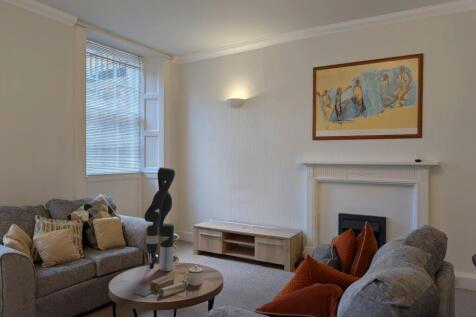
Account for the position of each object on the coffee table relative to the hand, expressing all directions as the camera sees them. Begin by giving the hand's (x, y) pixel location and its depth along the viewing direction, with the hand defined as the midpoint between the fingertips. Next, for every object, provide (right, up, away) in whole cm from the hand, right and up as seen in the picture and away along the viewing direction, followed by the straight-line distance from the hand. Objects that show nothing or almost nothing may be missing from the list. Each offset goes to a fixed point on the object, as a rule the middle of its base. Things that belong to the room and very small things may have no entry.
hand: (151, 268), depth 218 cm
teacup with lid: (+27, -10, 0) cm, 29 cm away
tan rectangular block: (+8, -10, -7) cm, 15 cm away
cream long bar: (+17, -10, -15) cm, 24 cm away
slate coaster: (0, -9, -16) cm, 18 cm away
